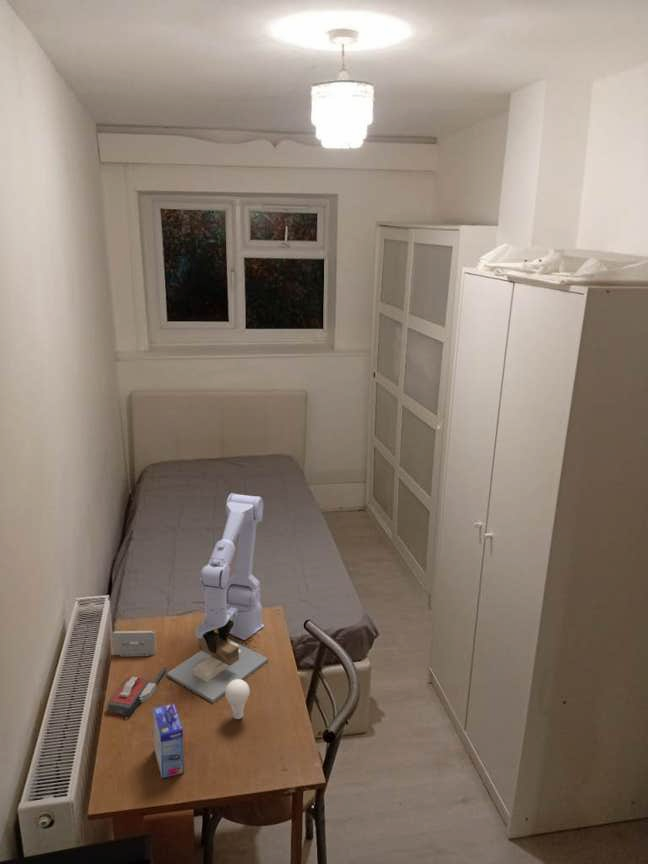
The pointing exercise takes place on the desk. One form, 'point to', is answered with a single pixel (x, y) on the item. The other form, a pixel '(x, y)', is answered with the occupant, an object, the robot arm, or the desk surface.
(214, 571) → the robot arm
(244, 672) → the ridge stand
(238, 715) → the lightbulb
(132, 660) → the desk surface
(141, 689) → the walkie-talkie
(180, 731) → the ink cartridge box
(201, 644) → the walnut bar
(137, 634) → the cassette
